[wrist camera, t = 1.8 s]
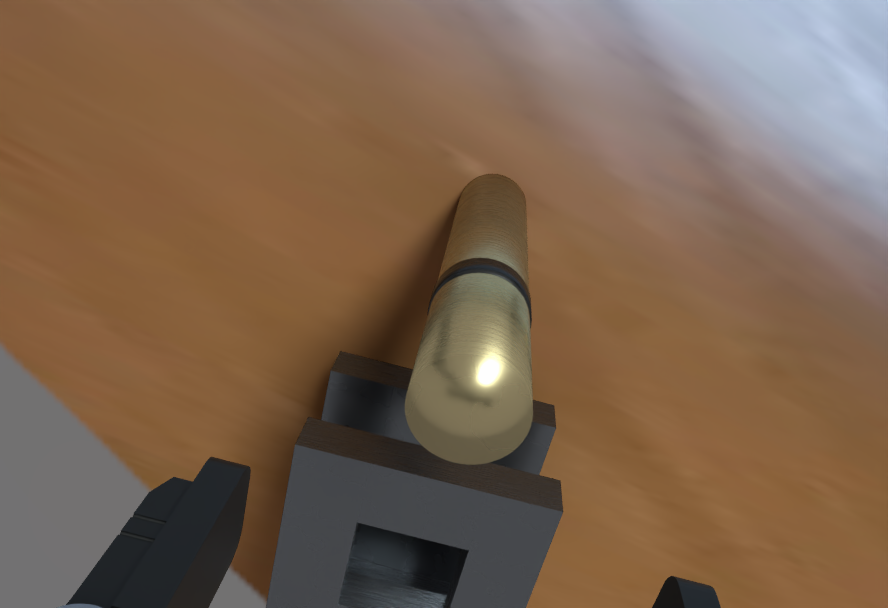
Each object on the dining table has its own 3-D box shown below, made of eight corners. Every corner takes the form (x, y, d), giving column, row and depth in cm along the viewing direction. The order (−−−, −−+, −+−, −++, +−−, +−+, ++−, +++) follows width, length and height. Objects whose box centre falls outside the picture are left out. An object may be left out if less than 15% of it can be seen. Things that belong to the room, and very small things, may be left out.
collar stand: (348, 333, 38) (295, 444, 29) (552, 385, 38) (563, 511, 29) (313, 508, 43) (258, 650, 34) (493, 553, 43) (486, 707, 34)
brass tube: (467, 165, 34) (418, 338, 17) (535, 182, 34) (551, 372, 17) (450, 230, 35) (390, 448, 19) (516, 247, 35) (514, 479, 19)
